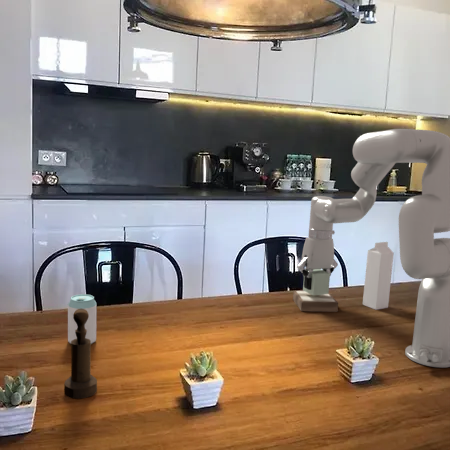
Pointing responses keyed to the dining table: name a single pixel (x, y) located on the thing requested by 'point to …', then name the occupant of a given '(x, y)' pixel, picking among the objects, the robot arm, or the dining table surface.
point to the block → (319, 282)
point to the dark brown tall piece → (80, 362)
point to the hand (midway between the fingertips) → (316, 287)
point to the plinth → (315, 302)
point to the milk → (378, 276)
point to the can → (90, 305)
